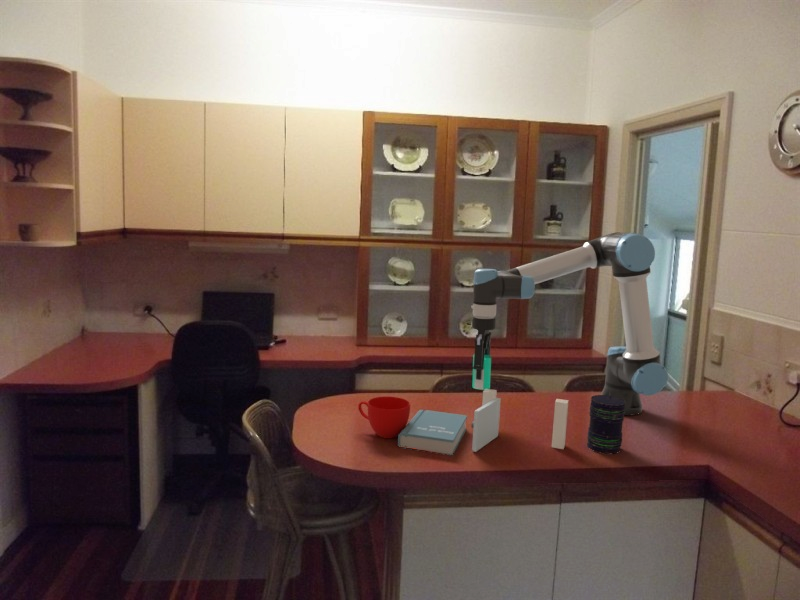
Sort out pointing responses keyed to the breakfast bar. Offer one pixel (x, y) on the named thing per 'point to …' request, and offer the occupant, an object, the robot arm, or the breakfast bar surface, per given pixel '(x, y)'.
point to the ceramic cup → (387, 415)
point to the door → (485, 424)
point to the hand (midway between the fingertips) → (481, 385)
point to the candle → (486, 373)
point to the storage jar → (606, 423)
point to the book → (433, 431)
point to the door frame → (559, 418)
